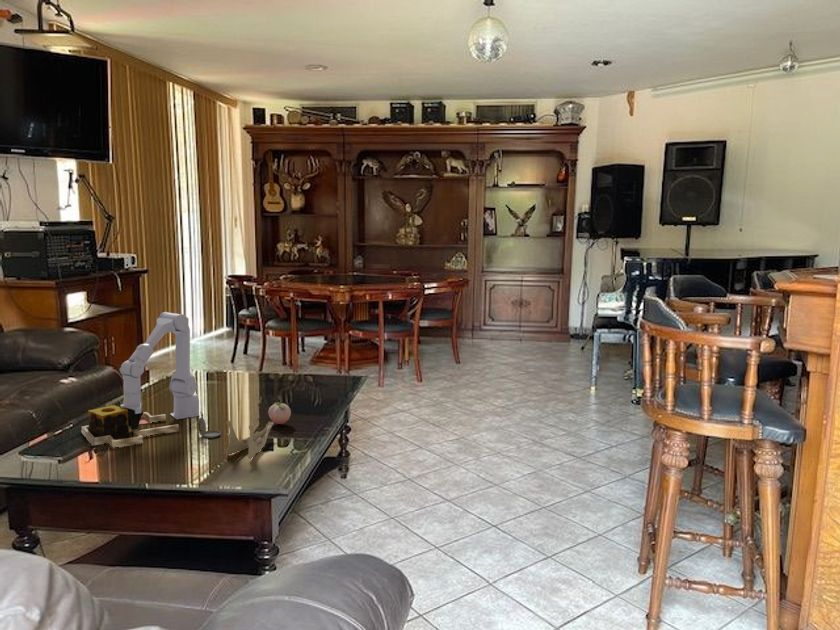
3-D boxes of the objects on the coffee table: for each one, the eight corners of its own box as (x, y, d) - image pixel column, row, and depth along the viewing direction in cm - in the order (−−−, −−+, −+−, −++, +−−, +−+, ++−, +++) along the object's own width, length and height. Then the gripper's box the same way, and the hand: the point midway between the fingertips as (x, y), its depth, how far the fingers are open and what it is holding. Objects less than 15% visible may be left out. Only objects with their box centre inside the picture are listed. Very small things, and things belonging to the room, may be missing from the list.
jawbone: (250, 462, 206) (248, 422, 205) (225, 460, 209) (223, 421, 208) (284, 441, 230) (283, 405, 229) (261, 440, 233) (259, 405, 232)
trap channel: (159, 415, 250) (159, 410, 249) (184, 436, 228) (184, 429, 228) (77, 428, 230) (77, 421, 230) (96, 451, 209) (96, 444, 208)
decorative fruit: (295, 425, 247) (295, 402, 245) (277, 429, 241) (278, 405, 239) (281, 420, 253) (282, 397, 252) (264, 424, 247) (265, 400, 246)
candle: (102, 443, 216) (101, 416, 215) (87, 436, 222) (86, 410, 220) (129, 435, 225) (128, 409, 223) (114, 429, 230) (113, 404, 229)
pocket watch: (224, 434, 232) (224, 409, 231) (209, 441, 224) (209, 415, 223) (206, 431, 235) (206, 406, 233) (191, 437, 227) (191, 411, 225)
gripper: (115, 389, 230) (115, 423, 232) (126, 398, 219) (127, 434, 221) (134, 387, 235) (135, 420, 236) (147, 395, 224) (147, 431, 226)
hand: (132, 427), depth 229 cm, fingers open, 4 cm apart
